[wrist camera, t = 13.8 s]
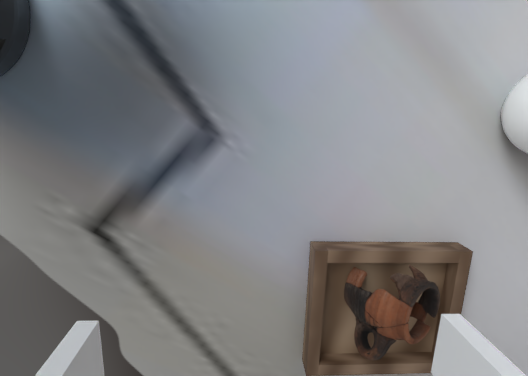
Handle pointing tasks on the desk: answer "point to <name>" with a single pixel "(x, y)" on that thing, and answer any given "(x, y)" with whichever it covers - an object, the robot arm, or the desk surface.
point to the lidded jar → (517, 115)
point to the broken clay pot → (390, 311)
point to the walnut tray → (378, 277)
